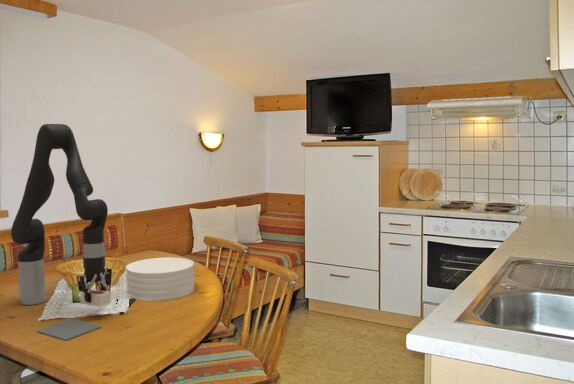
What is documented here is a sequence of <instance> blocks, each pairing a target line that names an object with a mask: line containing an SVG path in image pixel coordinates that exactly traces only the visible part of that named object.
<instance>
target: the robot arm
mask: <svg viewBox="0 0 574 384" xmlns="http://www.w3.org/2000/svg"><path fill="white" fill-rule="evenodd" d="M53 150H62V151H63V153H64V154H65V156H66V168H65V169H66V170H65V178H66V182H67V184H68V186H69V188H70V191H71V192H72V195H73V199H74V204H75V212H76V214H77V217H79V218H80V219H81V220H83V221H91V223H90V224H89V225H87V226H85V227H84V228H83V229H82V241H83V243H82V261H83V262H82V263H83V269H84V273H83V274H81V275H77V276H76V280H77V286H78V287H77V288H78V291H79V292H80V293H82V292H84V298H85V301H86V302H88V303H90V302H91V292H90V291H91V289H93V288H92V287H93V286H94V284H96V283H98V284H99V290H102V291H107V287H108V286H110V285H111V284H112V277H113V276H112V275H113V274H112V273H113V269H112V268H109V267H106V248H105V238H104V237H105V235H104V229H105V227H106V222H107V219H108V218H107V217H108V213H109V212H108V211H109V210H108V209H109V208H108V205H107V203H106V202H105V201H104V200H103V199H99V198H98V199H97V198H96V199H90V200H89V199H88V197H89V196H91V195H92V194H93V193H94V188H93V185H92V183H91V181H90V179H89V176H88V175H87V173H86V171H85V167H84V165H83V162H82V159H81V156H80V151H79V148H78V145H77V142H76V138H75V135H74V133H73V130H72V129H71V127H70V126H69V125H67V124H63V123H47V124H46V123H45V124H43V125H41V126H40V127H39V130H38V132H37V135H36V141H35V147H34V153H33V159H32V161H31V162H32V164H31V167H30V171H29V174H28V177H27V180H26V184H25V189H24V192H23V196H22V199H21V203H20V204H19V208H18V210H17V213H16V215H15V218H14V220H13V222H12V226H11V230H10V236H11V240H12V242H13V243H14V244H17V245H27V246H26V247H25V248H24V249H23V250H22V251H20V252H19V253H18V254H17V265H18V266H17V267H18V280H17V281H18V283H17V284H18V298H19V302H20V304H21V305H24V306H33V305H38V304H42V303H44V302H46V301H47V296H46V295H47V294H46V277H45V261H44V259H45V257H44V255H45V249H46V246H45V226H44V224H43V221H41V220H40V219H38V218H34V217H35V216H36V215H35V214H36V213H37V212H38V211H39V210H40V209H41V208H42V207H43V206H44V205H45V204H46V203H47V202H48V200H49V199H50V197H51V195H52V191H53V188H54V185H55V175H54V173H53V171H52V169H51V168H52V167H51V165H50V157H51V154H52V151H53ZM105 267H106V268H105Z"/></svg>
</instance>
